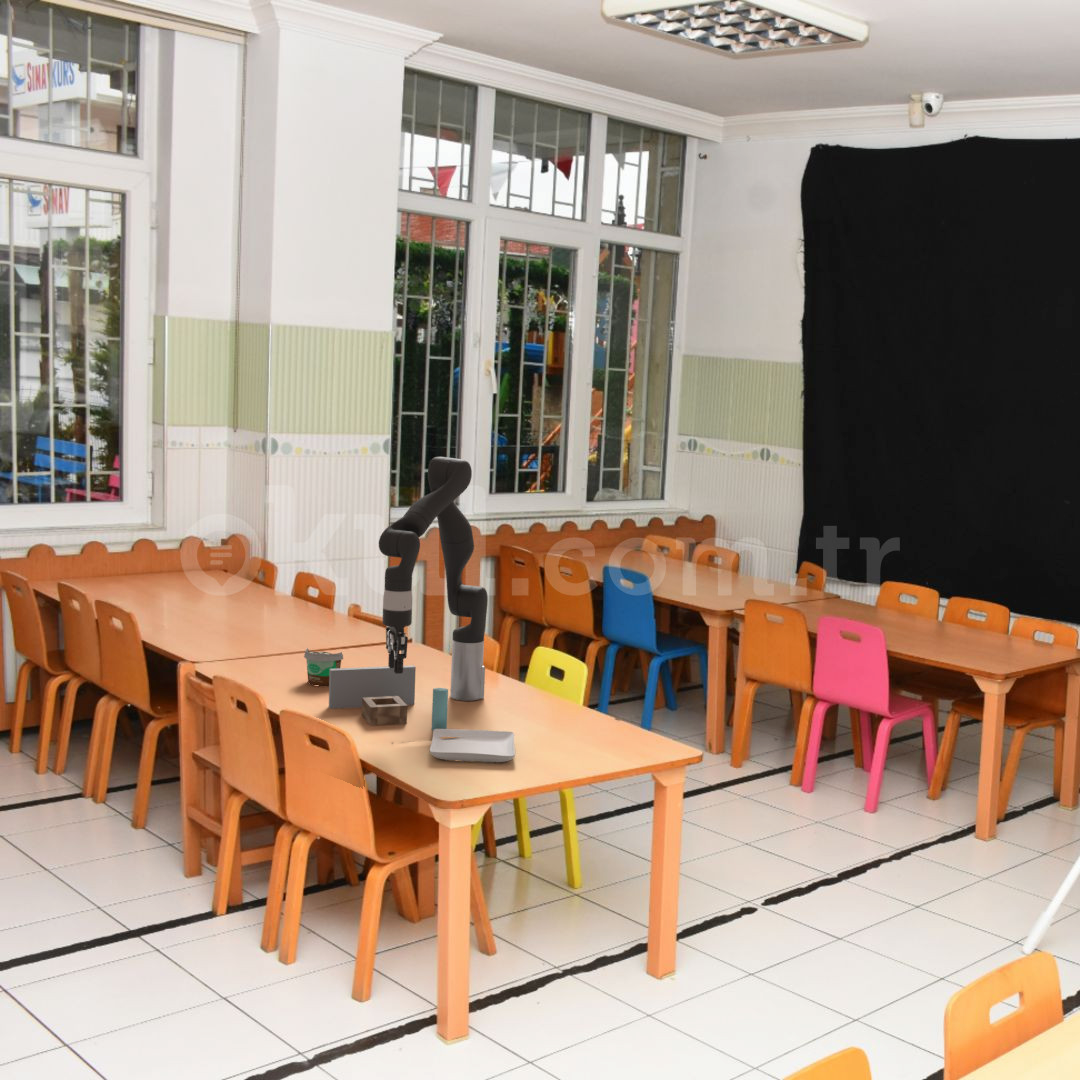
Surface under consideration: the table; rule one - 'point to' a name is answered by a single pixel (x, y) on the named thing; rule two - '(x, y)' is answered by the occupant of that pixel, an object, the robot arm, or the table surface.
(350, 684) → the backstop wall
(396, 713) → the block
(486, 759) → the salad plate
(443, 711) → the teal rounded bar piece
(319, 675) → the food container
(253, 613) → the table surface
